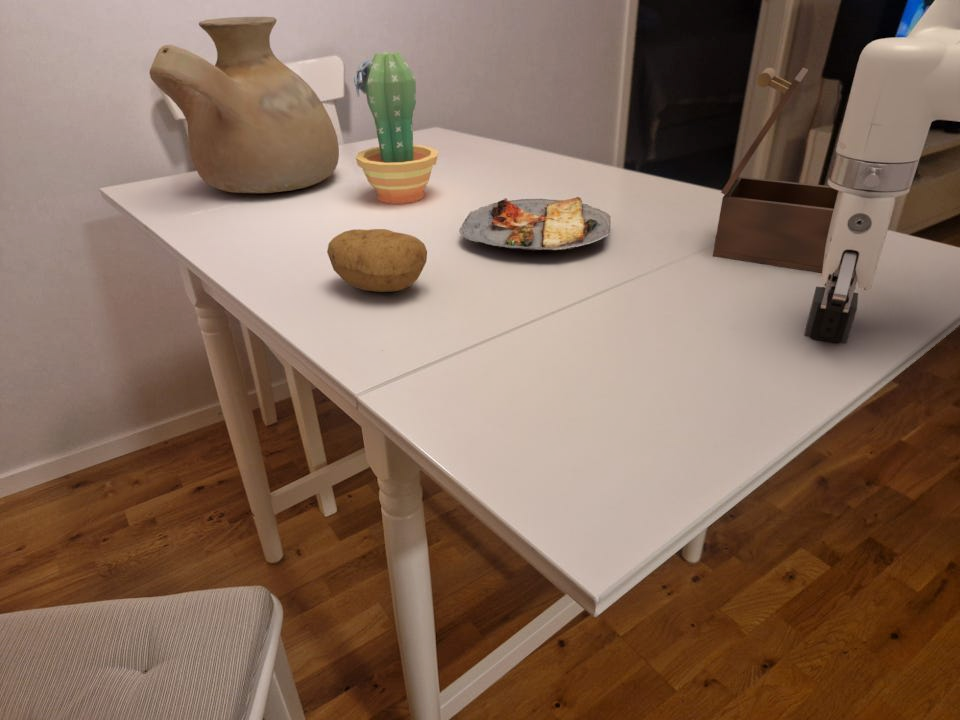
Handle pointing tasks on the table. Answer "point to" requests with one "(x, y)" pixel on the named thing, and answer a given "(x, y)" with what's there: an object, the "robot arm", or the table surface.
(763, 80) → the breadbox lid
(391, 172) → the potted cactus
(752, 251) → the box
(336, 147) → the jug
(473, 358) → the table surface
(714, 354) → the table surface
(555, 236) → the food plate
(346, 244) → the potato
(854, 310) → the block
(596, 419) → the table surface
